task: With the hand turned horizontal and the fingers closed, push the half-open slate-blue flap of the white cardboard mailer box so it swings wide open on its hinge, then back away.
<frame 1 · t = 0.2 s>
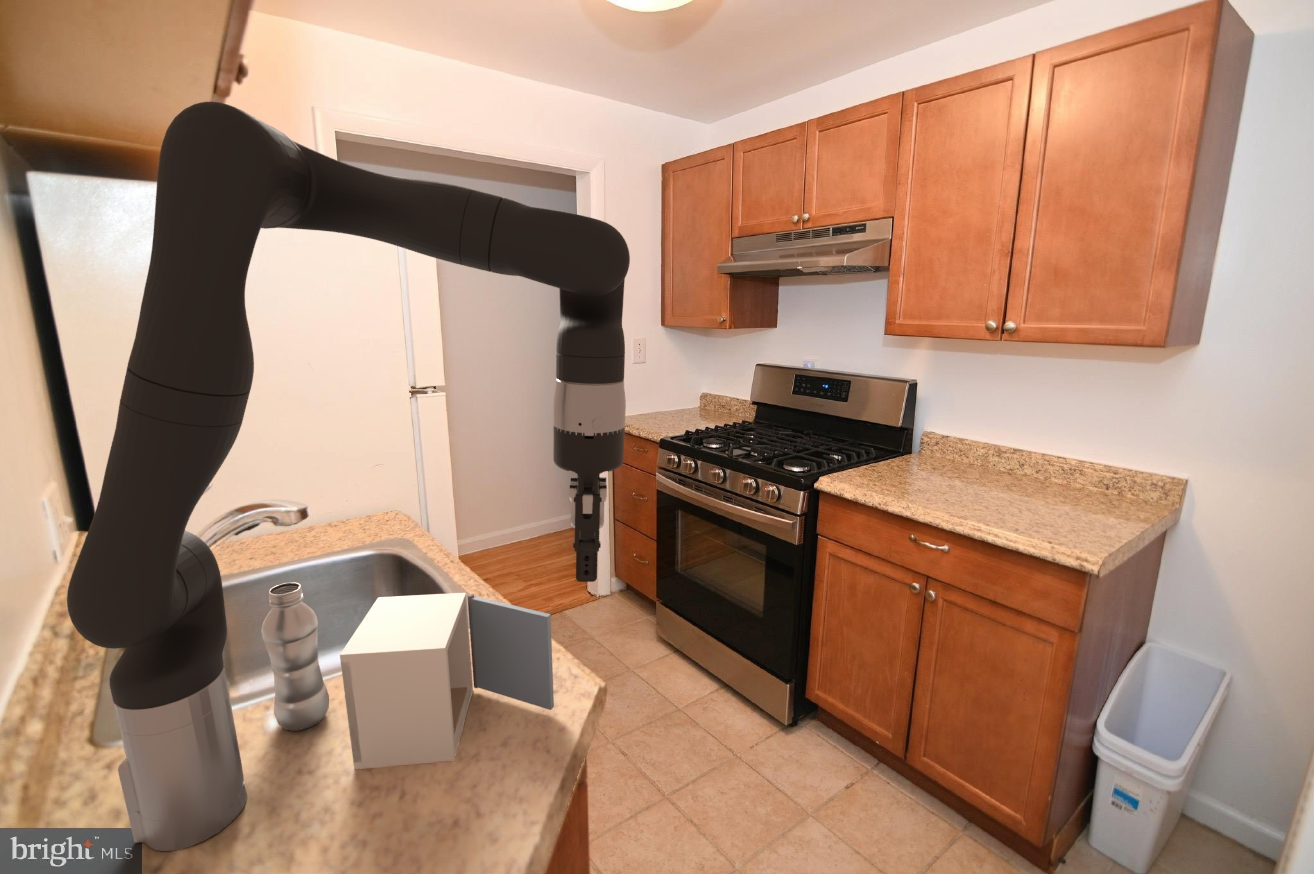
hand: (587, 561, 67), 28 cm above the countertop, tool pointing down, fingers open, 8 cm apart
plastic bottle: (304, 722, 82), on the countertop
mailer box: (419, 726, 81), on the countertop
flap: (509, 651, 84), point 8 cm above the countertop, hinge at 60.0°
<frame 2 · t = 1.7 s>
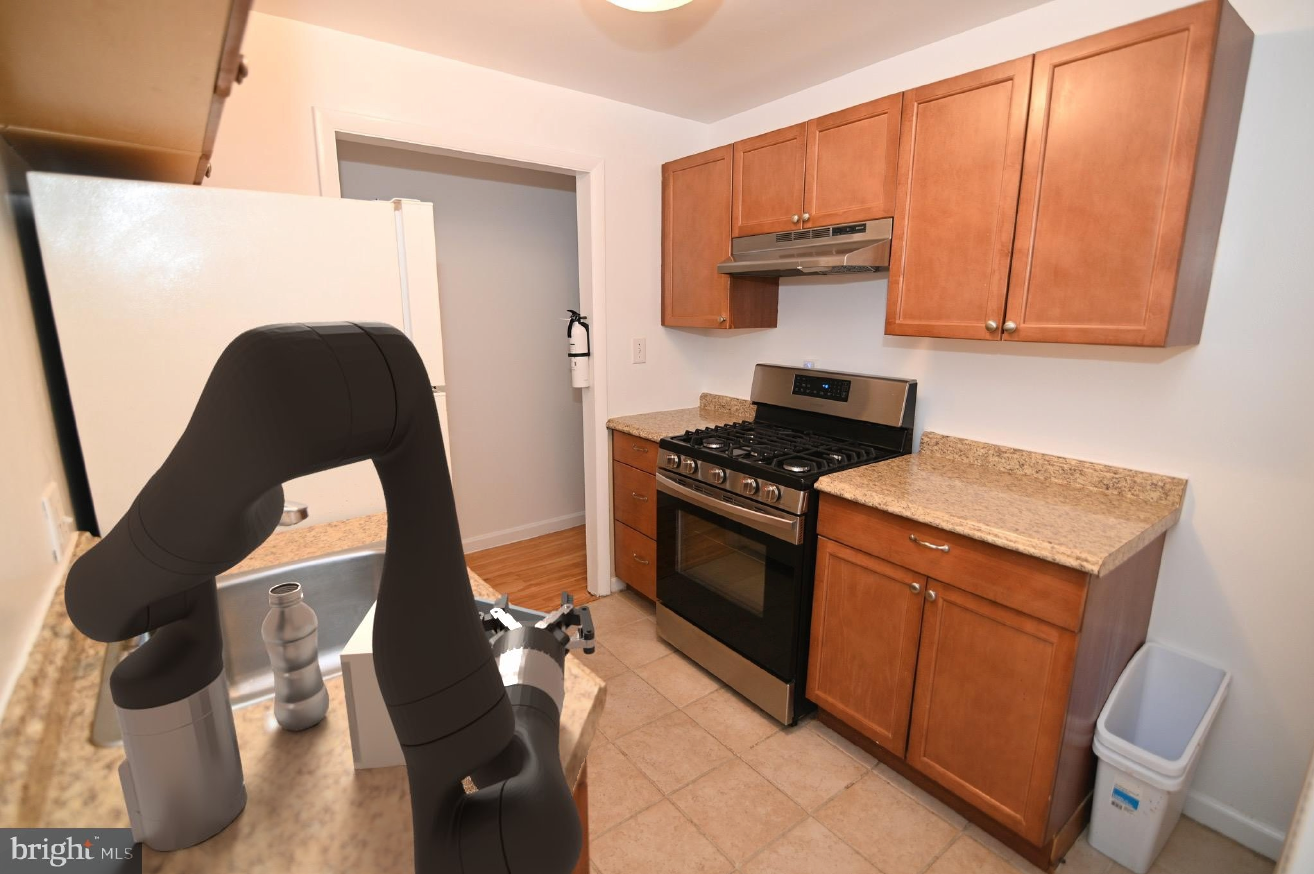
hand: (535, 599, 71), 22 cm above the countertop, tool horizontal, fingers open, 6 cm apart
nothing on the countertop moved.
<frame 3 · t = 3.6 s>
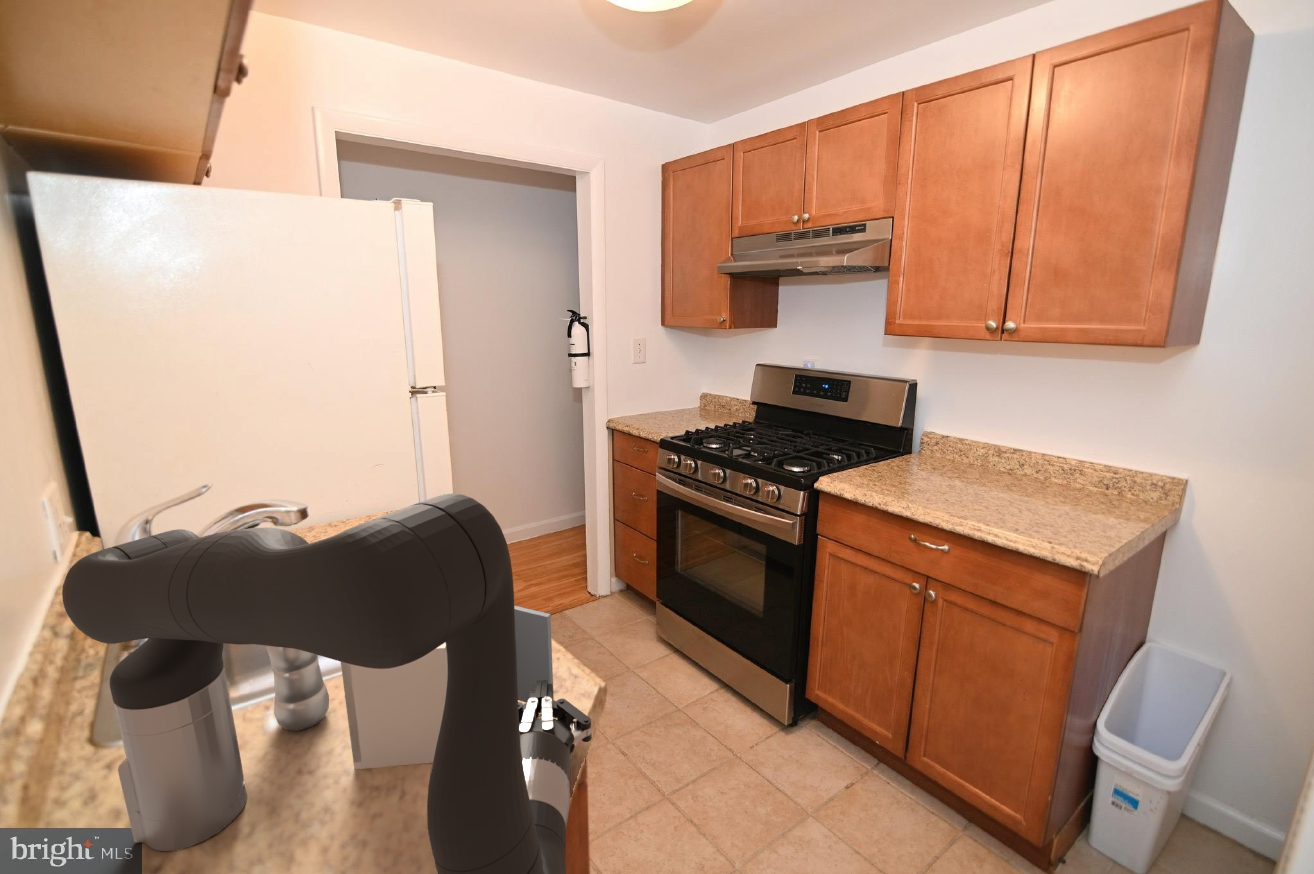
hand: (542, 686, 77), 8 cm above the countertop, tool horizontal, fingers closed
nothing on the countertop moved.
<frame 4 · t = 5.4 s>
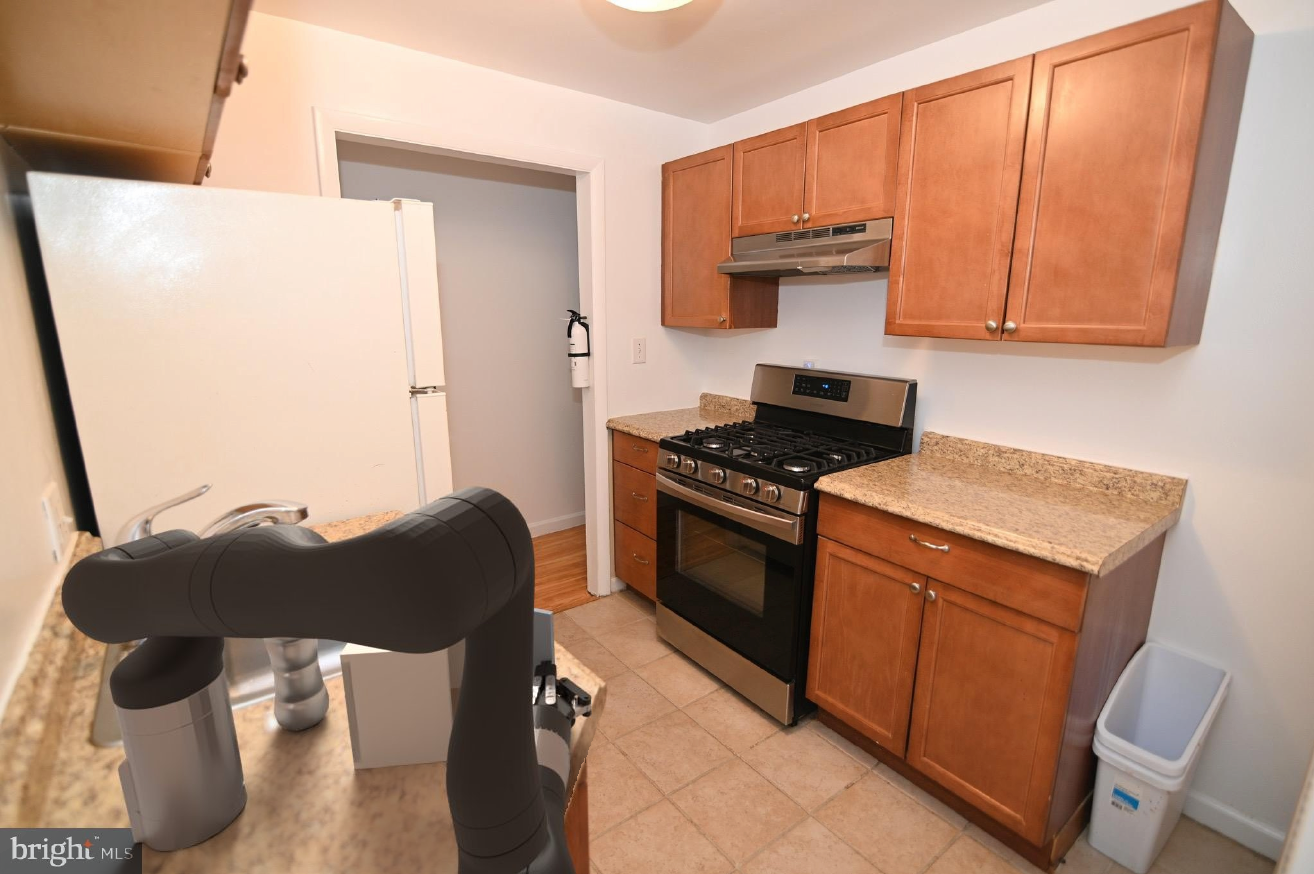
hand: (546, 666, 82), 8 cm above the countertop, tool horizontal, fingers closed
flap: (511, 650, 85), point 8 cm above the countertop, hinge at 63.2°, touching gripper
everything else where it was.
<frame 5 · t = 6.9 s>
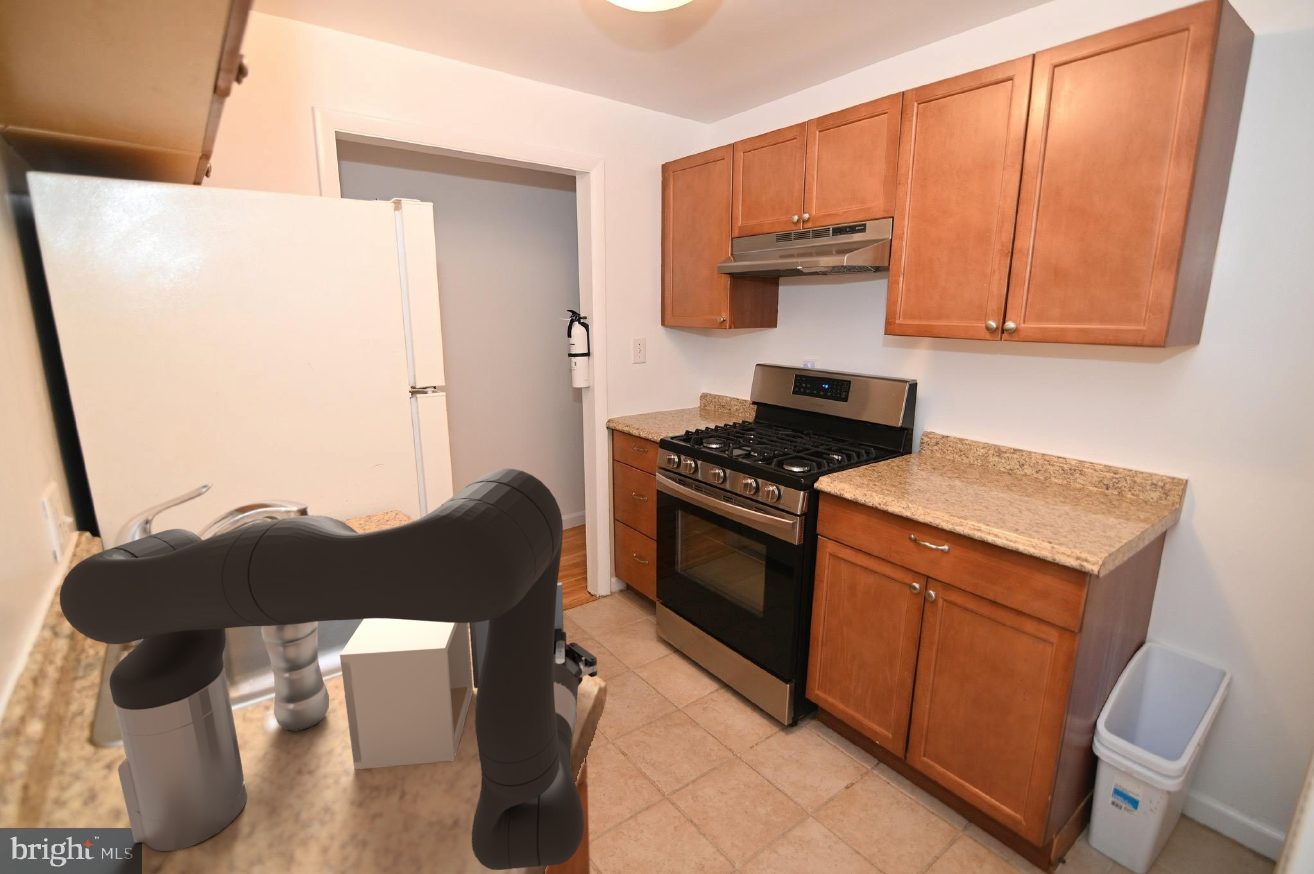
hand: (557, 634, 90), 8 cm above the countertop, tool horizontal, fingers closed
flap: (518, 634, 89), point 8 cm above the countertop, hinge at 101.8°, touching gripper
everything else where it was.
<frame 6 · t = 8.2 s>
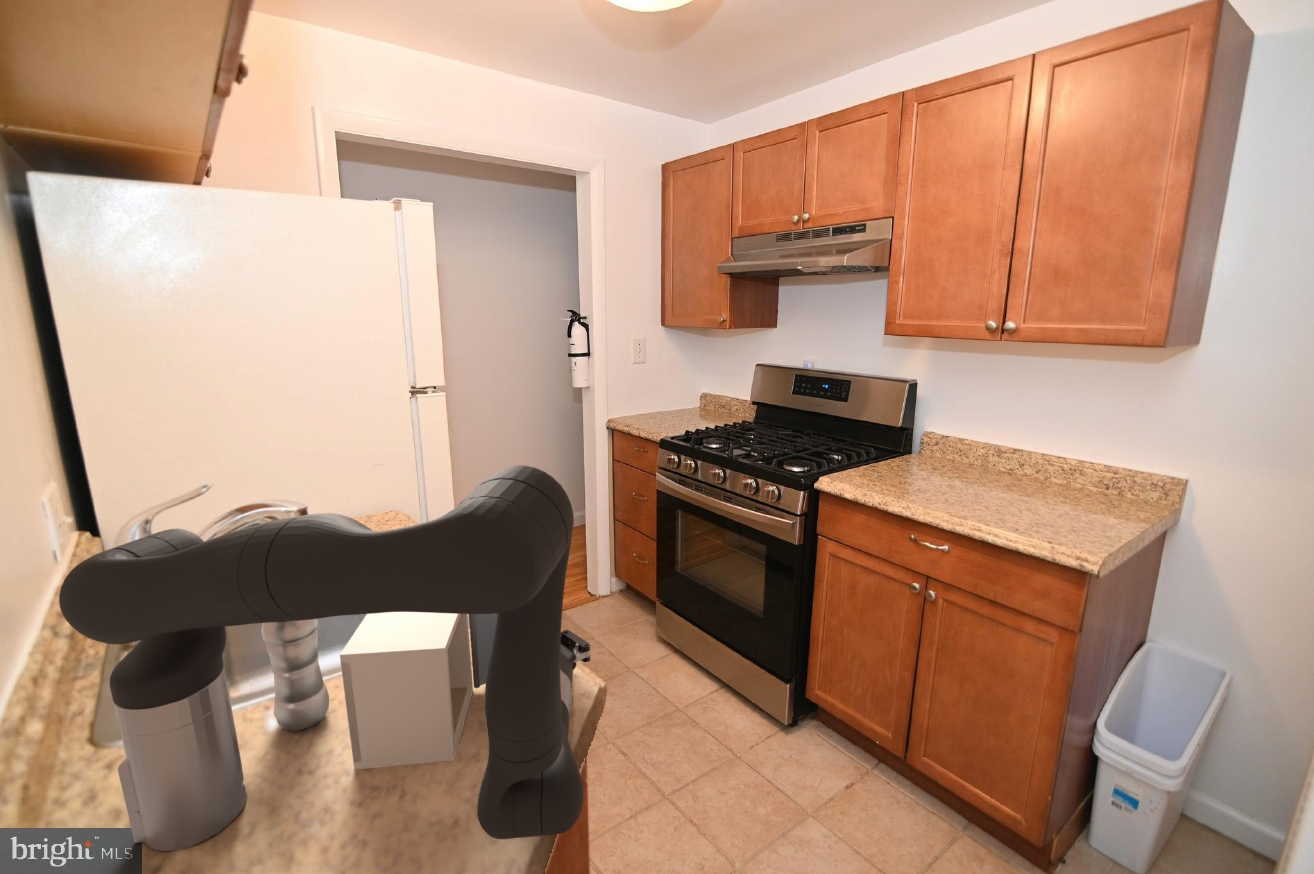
hand: (550, 622, 93), 8 cm above the countertop, tool horizontal, fingers closed
flap: (514, 627, 90), point 8 cm above the countertop, hinge at 119.8°, touching gripper
everything else where it was.
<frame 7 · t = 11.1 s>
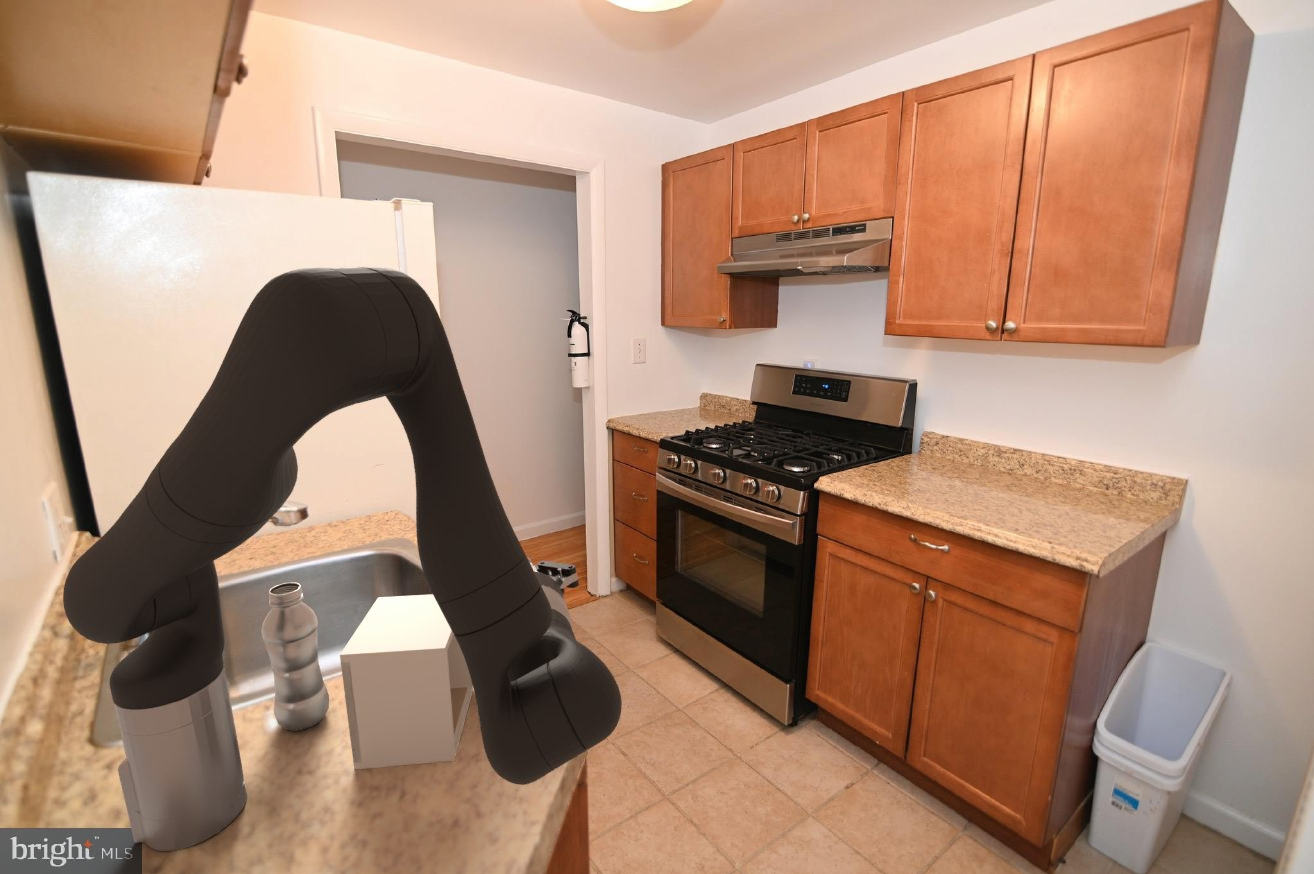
hand: (519, 563, 77), 24 cm above the countertop, tool horizontal, fingers closed
flap: (514, 627, 90), point 8 cm above the countertop, hinge at 120.0°
everything else where it was.
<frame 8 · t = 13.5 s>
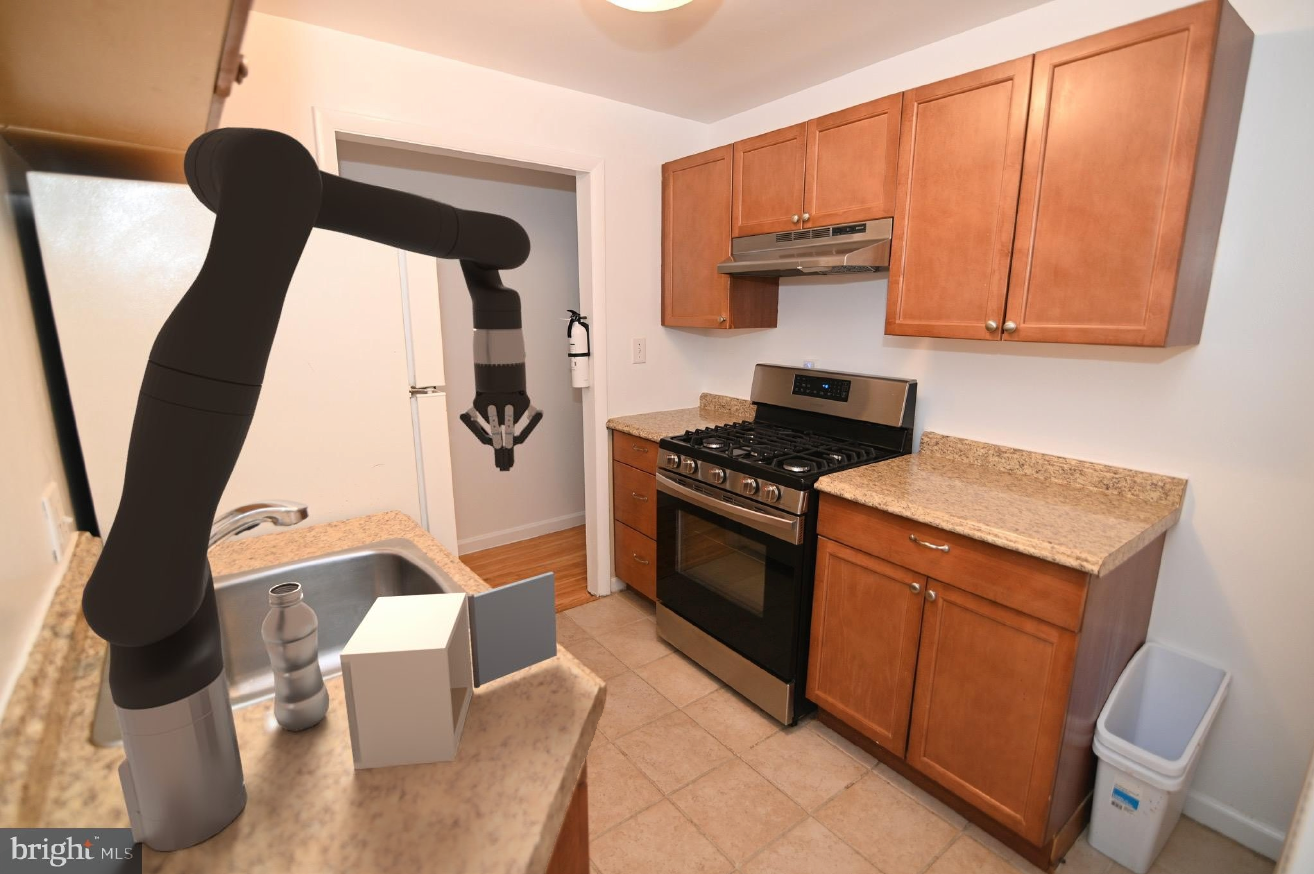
hand: (505, 469, 93), 31 cm above the countertop, tool pointing down, fingers closed
nothing on the countertop moved.
at the end: flap at +120° (first picture: +60°) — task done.
